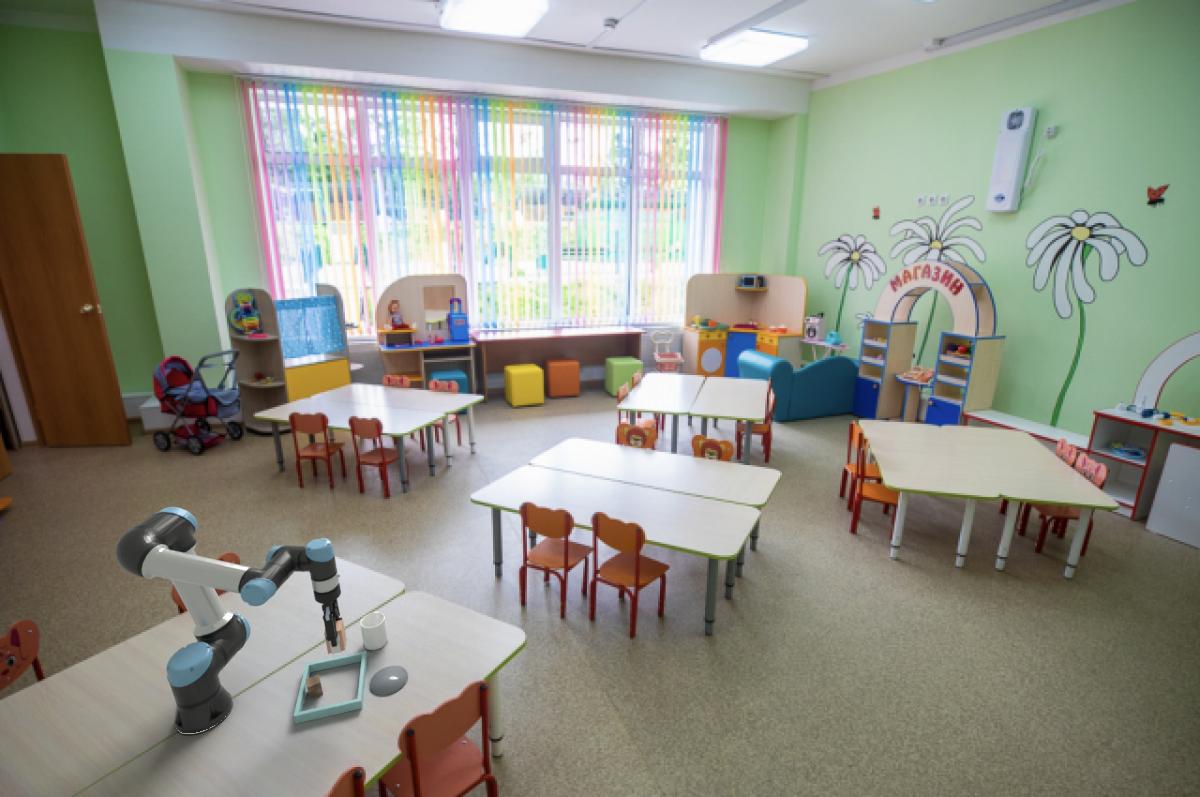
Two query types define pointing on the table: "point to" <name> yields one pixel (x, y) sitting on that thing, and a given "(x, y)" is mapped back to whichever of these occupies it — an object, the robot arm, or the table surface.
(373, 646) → the cup
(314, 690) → the walnut block
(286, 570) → the robot arm
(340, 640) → the painted box
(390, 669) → the grey dome puck
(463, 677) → the table surface
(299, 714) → the corral
